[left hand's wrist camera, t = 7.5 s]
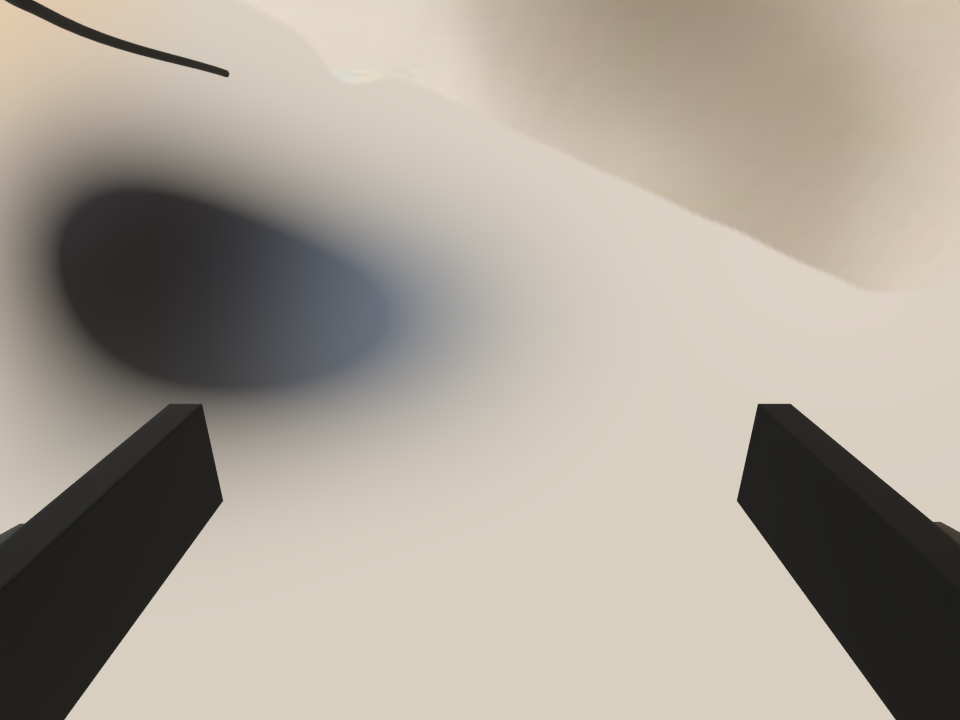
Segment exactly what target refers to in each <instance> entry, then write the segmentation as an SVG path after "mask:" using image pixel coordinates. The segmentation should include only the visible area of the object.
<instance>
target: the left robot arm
mask: <svg viewBox="0 0 960 720" xmlns="http://www.w3.org/2000/svg"><path fill="white" fill-rule="evenodd" d="M5 1H6V2H8V3H10V4H12V5H13V6H16V7H18V8H20V9H22V10H25V11H27V12H29V13H31V14H33V15H35V16H37V17H39V18H42V19H44V20H46V21H48V22H50V23H52V24H54V25H56V26H58V27H60V28H63V29H65V30H67V31H70V32H72V33H74V34H77V35H79V36H82V37H85V38H88V39H90V40H93V41H96V42H98V43H101V44H104V45H107V46H111V47H114V48H117V49H120V50H124V51H127V52H131V53H134V54H138V55H141V56H145V57H149V58H153V59H157V60H161V61H165V62H169V63H174V64H178V65H182V66H186V67H190V68H194V69H198V70H202V71H206V72H209V73H213V74H217V75H220V76H223V77H229V72H228V70H225V69H222V68H219V67H216V66H213V65H209V64H206V63H203V62H199V61H195V60H192V59H188V58H185V57H181V56H177V55H173V54H170V53H166V52H162V51H159V50H155V49H151V48H148V47H144V46H141V45H138V44H134V43H131V42H128V41H125V40H122V39H119V38H116V37H113V36H110V35H107V34H105V33H102V32H99V31H97V30H94V29H92V28H89V27H87V26H84V25H82V24H80V23H78V22H75V21H73V20H71V19H69V18H67V17H65V16H63V15H61V14H59V13H57V12H55V11H53V10H51V9H49V8H47V7H45V6H44V5H42V4H40V3H38V2H36V1H34V0H5ZM222 501H223V499H222V494H221V489H220V485H219V480H218V475H217V471H216V466H215V462H214V457H213V453H212V448H211V443H210V439H209V434H208V430H207V425H206V421H205V416H204V411H203V407H202V404H169V405H168V406H166V407H165V408H164V409H163V410H162V411H160V412H159V413H158V414H157V415H156V416H154V417H153V418H152V419H151V420H149V421H148V422H147V423H146V424H145V425H143V426H142V427H141V428H140V429H139V430H138V431H136V432H135V433H134V434H133V435H131V436H130V437H129V438H128V439H127V440H125V441H124V442H123V443H122V444H121V445H119V446H118V447H117V448H116V449H115V450H113V451H112V452H111V453H110V454H108V455H107V456H106V457H105V458H104V459H102V460H101V461H100V462H99V463H98V464H96V465H95V466H94V467H93V468H92V469H90V470H89V471H88V472H87V473H86V474H84V475H83V476H82V477H81V478H80V479H78V480H77V481H76V482H75V483H74V484H72V485H71V486H70V487H69V488H67V489H66V490H65V491H64V492H63V493H61V494H60V495H59V496H58V497H57V498H55V499H54V500H53V501H52V502H51V503H49V504H48V505H47V506H46V507H45V508H43V509H42V510H41V511H40V512H39V513H37V514H36V515H35V516H34V517H33V518H31V519H30V520H29V521H28V522H26V523H25V524H19V525H17V526H15V527H13V528H11V529H10V530H8V531H6V532H4V533H2V534H1V535H0V720H64V719H65V718H66V717H67V715H68V714H69V712H70V711H71V710H72V708H73V707H74V705H75V704H76V703H77V701H78V700H79V699H80V697H81V696H82V695H83V693H84V692H85V690H86V689H87V688H88V686H89V685H90V683H91V682H92V681H93V679H94V678H95V677H96V675H97V674H98V672H99V671H100V670H101V668H102V667H103V666H104V664H105V663H106V661H107V660H108V659H109V657H110V656H111V654H112V653H113V652H114V650H115V649H116V648H117V646H118V645H119V643H120V642H121V641H122V639H123V638H124V637H125V635H126V634H127V632H128V631H129V630H130V628H131V627H132V626H133V624H134V623H135V621H136V620H137V619H138V617H139V616H140V614H141V613H142V612H143V610H144V609H145V608H146V606H147V605H148V604H149V602H150V601H151V599H152V598H153V597H154V595H155V594H156V592H157V591H158V590H159V588H160V587H161V586H162V584H163V583H164V581H165V580H166V579H167V577H168V576H169V575H170V573H171V572H172V570H173V569H174V568H175V566H176V565H177V564H178V562H179V561H180V559H181V558H182V557H183V555H184V554H185V552H186V551H187V550H188V548H189V547H190V546H191V544H192V543H193V541H194V540H195V539H196V537H197V536H198V535H199V533H200V532H201V530H202V529H203V528H204V526H205V525H206V523H207V522H208V521H209V519H210V518H211V517H212V515H213V514H214V513H215V511H216V510H217V508H218V507H219V506H220V504H221V503H222ZM737 501H738V503H739V504H740V506H741V507H742V508H743V510H744V511H745V513H746V514H747V515H748V517H749V518H750V519H751V521H752V522H753V523H754V525H755V526H756V528H757V529H758V530H759V532H760V533H761V535H762V536H763V537H764V539H765V540H766V541H767V543H768V544H769V546H770V547H771V548H772V550H773V551H774V552H775V554H776V555H777V557H778V558H779V559H780V561H781V562H782V564H783V565H784V566H785V568H786V569H787V570H788V572H789V573H790V575H791V576H792V577H793V579H794V580H795V581H796V583H797V584H798V585H799V587H800V588H801V590H802V591H803V592H804V594H805V595H806V597H807V598H808V599H809V601H810V602H811V604H812V605H813V606H814V608H815V609H816V610H817V612H818V613H819V615H820V616H821V617H822V619H823V620H824V621H825V623H826V624H827V626H828V627H829V628H830V630H831V631H832V632H833V634H834V635H835V637H836V638H837V639H838V641H839V642H840V643H841V645H842V646H843V648H844V649H845V650H846V652H847V653H848V655H849V656H850V657H851V659H852V660H853V661H854V663H855V664H856V666H857V667H858V668H859V670H860V671H861V672H862V674H863V675H864V677H865V678H866V679H867V681H868V682H869V683H870V685H871V686H872V688H873V689H874V690H875V692H876V693H877V695H878V696H879V697H880V699H881V700H882V701H883V703H884V704H885V706H886V707H887V708H888V710H889V711H890V712H891V714H892V715H893V717H894V718H895V719H896V720H960V532H958V531H956V530H954V529H953V528H951V527H949V526H947V525H945V524H943V523H942V522H932V521H931V520H930V519H929V518H928V517H926V516H925V515H924V514H923V513H921V512H920V511H919V510H918V509H917V508H915V507H914V506H913V505H912V504H910V503H909V502H908V501H907V500H906V499H905V498H903V497H902V496H901V495H900V494H899V493H897V492H896V491H895V490H894V489H892V488H891V487H890V486H889V485H888V484H887V483H885V482H884V481H883V480H882V479H880V478H879V477H878V476H877V475H876V474H874V473H873V472H872V471H871V470H870V469H868V468H867V467H866V466H865V465H864V464H862V463H861V462H860V461H859V460H858V459H856V458H855V457H854V456H853V455H852V454H850V453H849V452H848V451H847V450H845V449H844V448H843V447H842V446H841V445H839V444H838V443H837V442H836V441H835V440H833V439H832V438H831V437H830V436H829V435H827V434H826V433H825V432H824V431H823V430H821V429H820V428H819V427H818V426H817V425H815V424H814V423H813V422H812V421H810V420H809V419H808V418H807V417H806V416H804V415H803V414H802V413H801V412H800V411H798V410H797V409H796V408H795V407H794V406H792V405H791V404H758V407H757V411H756V416H755V420H754V425H753V430H752V434H751V439H750V443H749V448H748V452H747V457H746V462H745V466H744V471H743V475H742V480H741V485H740V489H739V494H738V498H737Z"/></svg>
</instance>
